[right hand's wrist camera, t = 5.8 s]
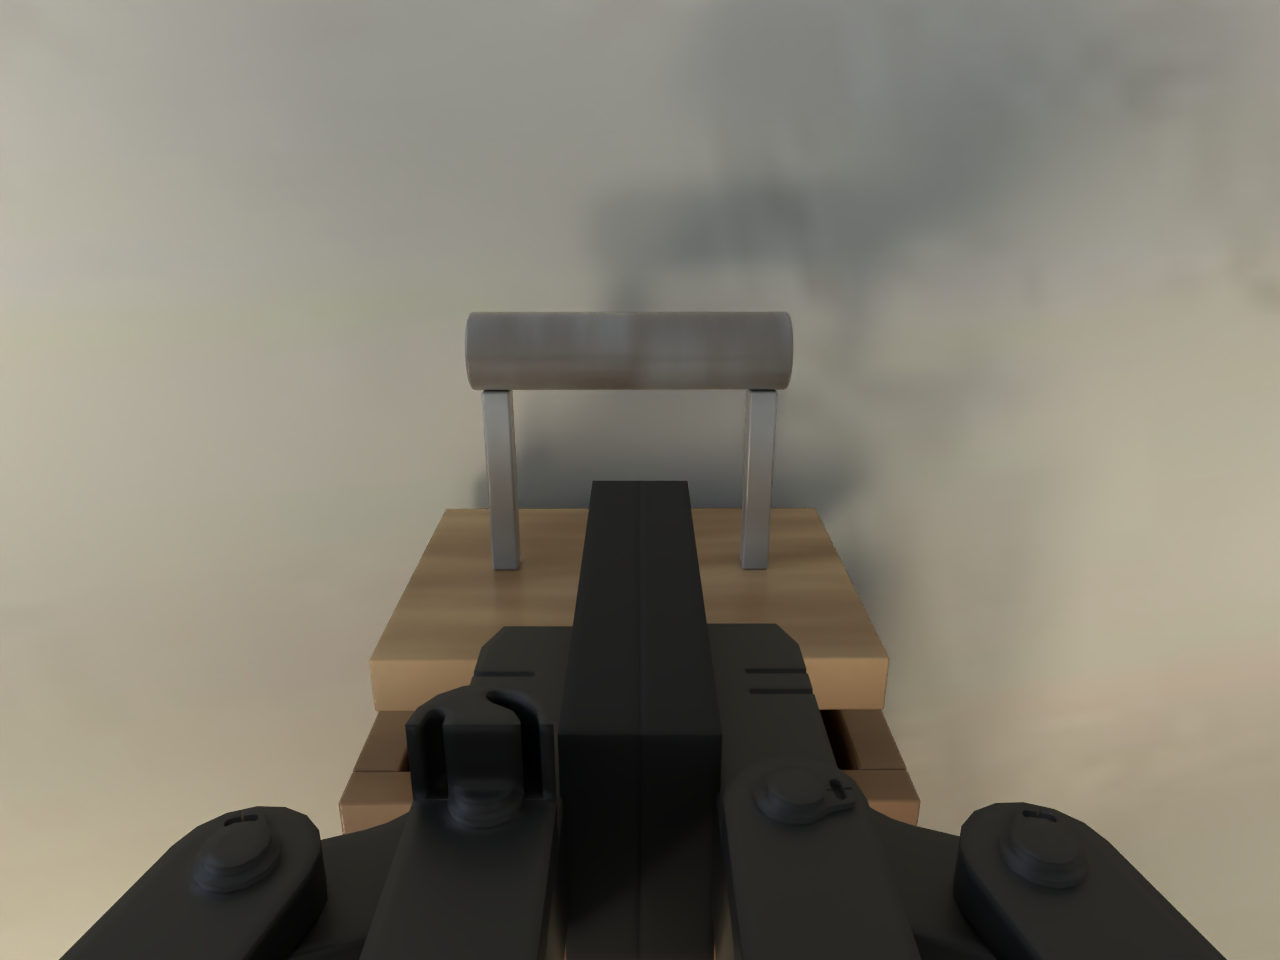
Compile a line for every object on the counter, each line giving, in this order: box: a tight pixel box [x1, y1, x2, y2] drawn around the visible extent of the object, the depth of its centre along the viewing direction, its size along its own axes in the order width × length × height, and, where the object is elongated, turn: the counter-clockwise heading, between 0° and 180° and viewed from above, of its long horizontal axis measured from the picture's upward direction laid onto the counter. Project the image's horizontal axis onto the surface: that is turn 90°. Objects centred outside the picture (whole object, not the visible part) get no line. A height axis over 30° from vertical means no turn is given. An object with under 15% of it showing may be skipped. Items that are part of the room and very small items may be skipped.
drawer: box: [369, 312, 889, 711], centre depth 24 cm, size 26×10×8 cm, turn 0°
